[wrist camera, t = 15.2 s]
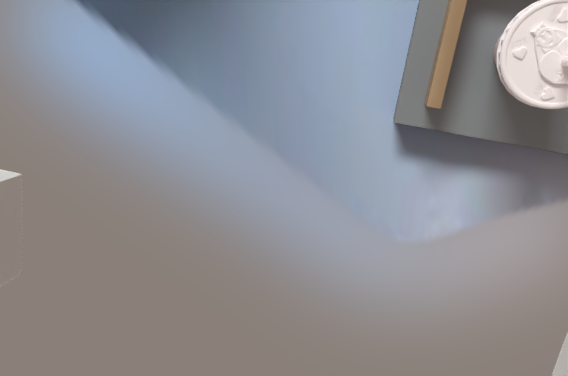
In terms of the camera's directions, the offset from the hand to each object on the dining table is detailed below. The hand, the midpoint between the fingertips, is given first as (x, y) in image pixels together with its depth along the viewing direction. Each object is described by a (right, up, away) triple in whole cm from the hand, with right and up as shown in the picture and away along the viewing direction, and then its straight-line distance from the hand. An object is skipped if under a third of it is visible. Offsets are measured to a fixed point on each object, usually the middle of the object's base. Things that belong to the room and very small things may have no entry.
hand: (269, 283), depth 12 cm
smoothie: (+18, +12, +26) cm, 34 cm away
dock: (+19, +13, +29) cm, 37 cm away
